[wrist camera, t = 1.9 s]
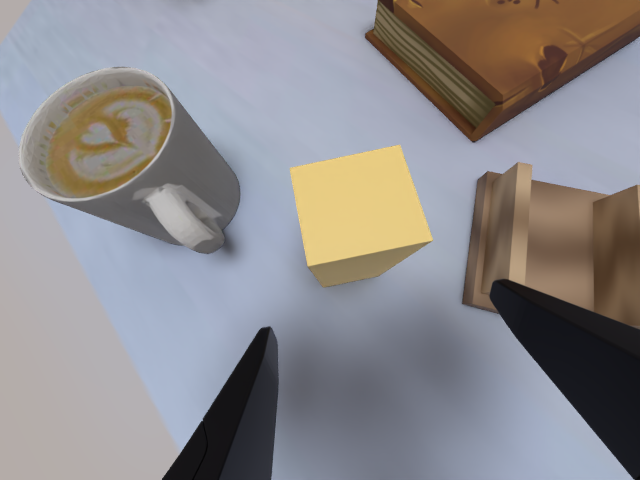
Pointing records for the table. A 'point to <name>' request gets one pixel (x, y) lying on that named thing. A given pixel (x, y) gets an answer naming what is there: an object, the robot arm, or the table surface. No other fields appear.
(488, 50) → the diary
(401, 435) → the table surface
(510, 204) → the shelf slot board
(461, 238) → the table surface
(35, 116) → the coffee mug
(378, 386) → the table surface
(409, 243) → the pale yellow cuboid
